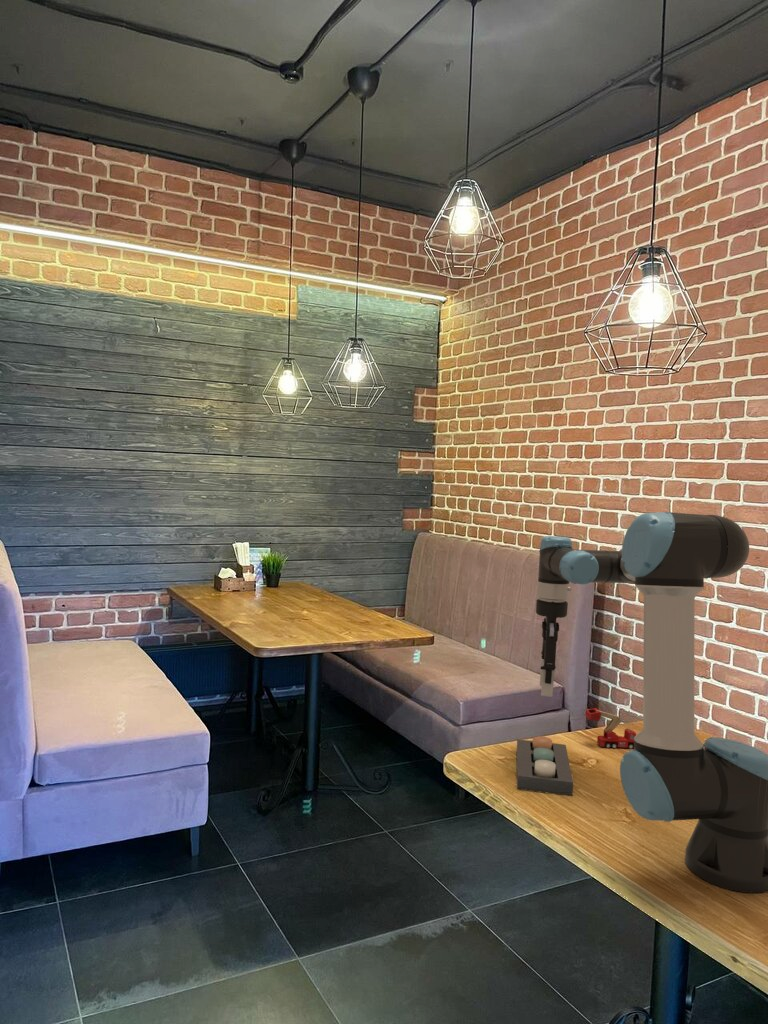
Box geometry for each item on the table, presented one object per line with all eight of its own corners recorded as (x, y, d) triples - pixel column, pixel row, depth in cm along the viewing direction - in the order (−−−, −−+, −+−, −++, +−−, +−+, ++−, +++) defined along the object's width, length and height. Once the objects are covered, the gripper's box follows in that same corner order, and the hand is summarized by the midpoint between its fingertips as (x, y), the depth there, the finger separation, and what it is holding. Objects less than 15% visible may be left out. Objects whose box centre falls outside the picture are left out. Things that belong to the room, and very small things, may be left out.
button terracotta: (551, 755, 185) (552, 743, 184) (532, 753, 185) (533, 741, 185) (550, 749, 189) (551, 737, 189) (531, 747, 190) (532, 735, 190)
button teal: (553, 768, 177) (554, 755, 177) (533, 765, 177) (534, 753, 177) (552, 761, 181) (553, 748, 181) (532, 758, 182) (533, 746, 182)
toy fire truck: (638, 749, 198) (641, 713, 198) (587, 748, 197) (589, 711, 197) (633, 745, 202) (636, 709, 201) (583, 743, 201) (585, 707, 200)
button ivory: (555, 781, 169) (556, 768, 169) (534, 779, 170) (535, 766, 169) (554, 773, 173) (555, 761, 173) (533, 771, 174) (534, 758, 174)
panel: (572, 795, 167) (573, 782, 167) (517, 789, 169) (518, 775, 168) (564, 756, 190) (565, 744, 190) (516, 750, 192) (517, 739, 192)
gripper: (571, 607, 174) (564, 705, 176) (565, 594, 195) (558, 681, 196) (538, 605, 176) (531, 701, 177) (535, 591, 196) (529, 678, 197)
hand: (545, 690), depth 186 cm, fingers open, 8 cm apart
